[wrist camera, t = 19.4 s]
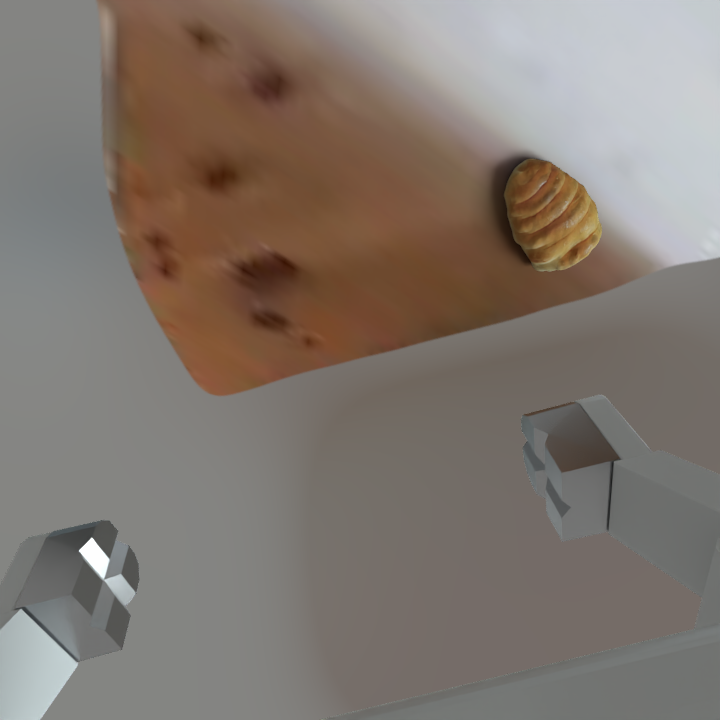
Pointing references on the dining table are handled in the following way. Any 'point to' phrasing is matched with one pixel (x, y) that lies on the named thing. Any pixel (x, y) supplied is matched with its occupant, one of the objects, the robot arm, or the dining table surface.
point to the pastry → (550, 215)
